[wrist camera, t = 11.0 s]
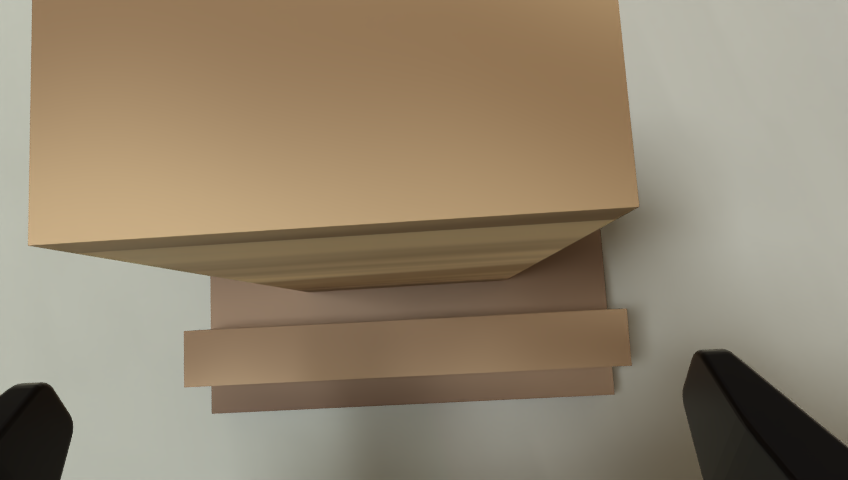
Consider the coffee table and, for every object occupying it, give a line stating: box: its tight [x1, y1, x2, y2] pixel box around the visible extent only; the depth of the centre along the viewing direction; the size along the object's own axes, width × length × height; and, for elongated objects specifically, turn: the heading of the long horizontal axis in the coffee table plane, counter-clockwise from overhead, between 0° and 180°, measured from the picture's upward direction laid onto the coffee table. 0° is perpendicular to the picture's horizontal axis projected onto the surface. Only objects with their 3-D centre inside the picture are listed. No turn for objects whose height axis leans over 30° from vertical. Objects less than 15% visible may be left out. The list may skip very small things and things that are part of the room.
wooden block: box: [28, 0, 639, 292], centre depth 13 cm, size 3×6×13 cm, turn 93°
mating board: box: [184, 229, 632, 414], centre depth 19 cm, size 10×12×3 cm
